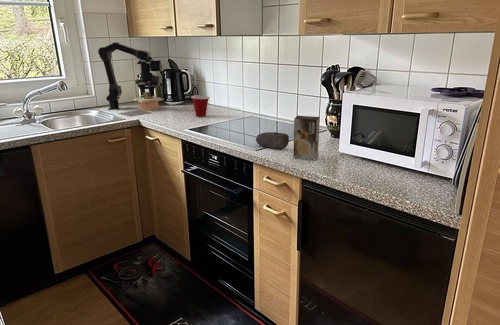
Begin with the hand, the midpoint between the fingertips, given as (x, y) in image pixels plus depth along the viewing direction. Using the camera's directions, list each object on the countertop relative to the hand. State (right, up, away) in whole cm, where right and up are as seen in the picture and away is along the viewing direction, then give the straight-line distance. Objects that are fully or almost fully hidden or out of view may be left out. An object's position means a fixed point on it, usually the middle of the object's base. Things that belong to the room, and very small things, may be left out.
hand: (147, 95), depth 246 cm
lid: (0, -3, +1) cm, 3 cm away
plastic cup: (+37, -16, -19) cm, 45 cm away
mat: (-5, -14, -12) cm, 19 cm away
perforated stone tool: (+76, -37, -83) cm, 119 cm away
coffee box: (+89, -42, -96) cm, 137 cm away
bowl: (0, -9, +3) cm, 9 cm away
